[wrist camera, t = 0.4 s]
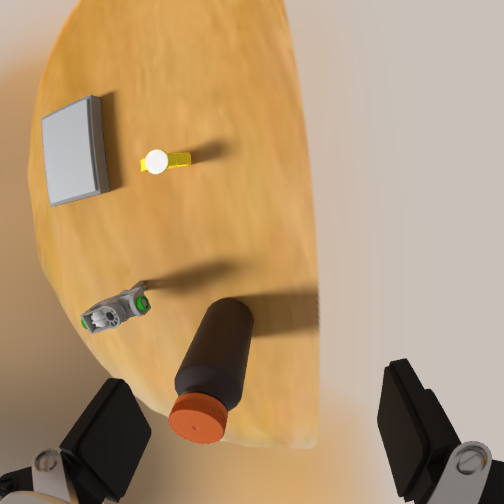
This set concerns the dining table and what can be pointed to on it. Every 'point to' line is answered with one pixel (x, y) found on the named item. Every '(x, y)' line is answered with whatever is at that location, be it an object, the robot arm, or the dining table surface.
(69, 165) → the stand
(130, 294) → the mechanical component
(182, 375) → the bottle
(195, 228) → the dining table surface
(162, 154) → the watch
